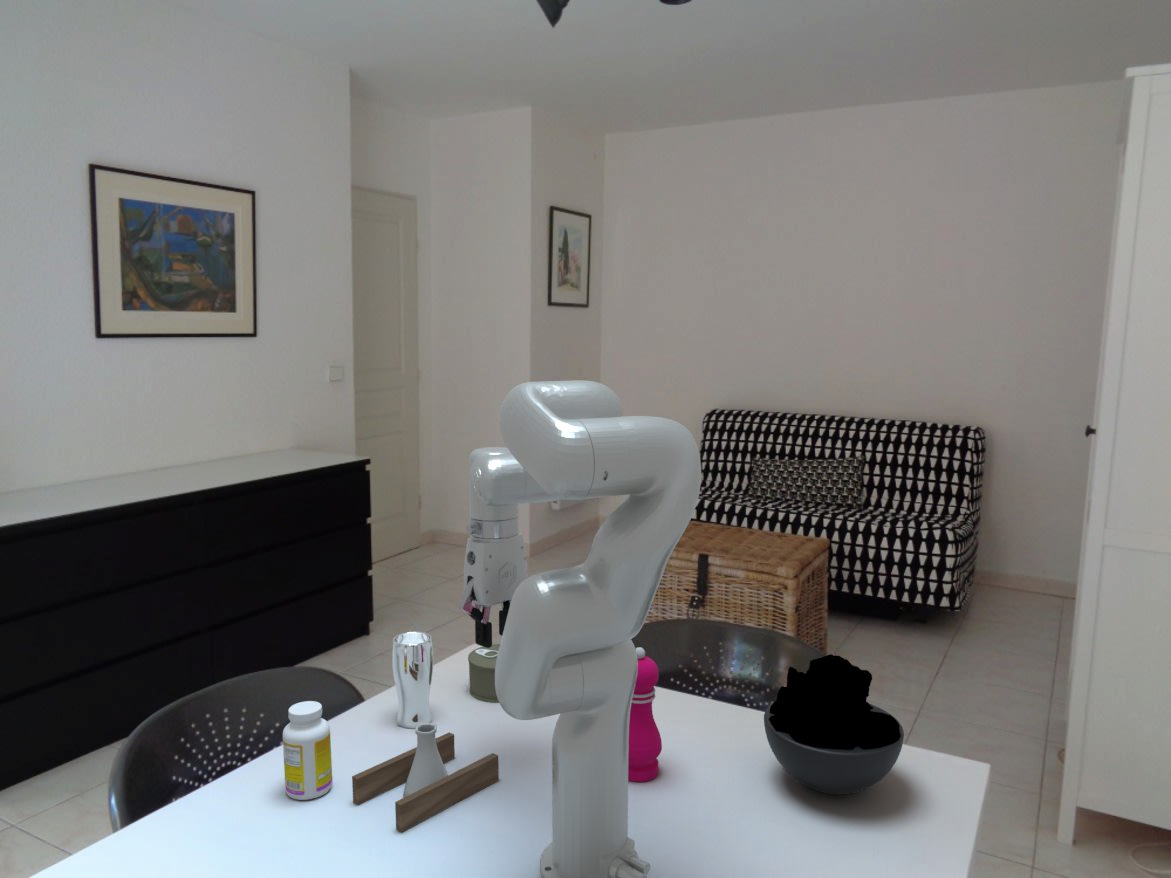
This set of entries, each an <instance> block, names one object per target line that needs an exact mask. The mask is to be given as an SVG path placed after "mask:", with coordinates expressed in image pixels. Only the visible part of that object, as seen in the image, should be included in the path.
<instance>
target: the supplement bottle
mask: <svg viewBox="0 0 1171 878" xmlns="http://www.w3.org/2000/svg"><path fill="white" fill-rule="evenodd" d="M322 715H323V706H322V704H321V703H320V702H318V701H316V700H314V701H313V700H306V701H300V702H297V703H294V704H292V705H291V706H290V707H289V708H288V717H287V718H288V719H289V721H290V722H289V723H288V724H287V725H286V726H285V727H284V728H283V730H282V747H283V749H282V751H283V767H284V768H283V769H284V785H285V787H284V788H285V791H286V795H287V796H288V797H290V798H291V799H293V800H299V801H306V800H312V799H317V798H319V797H322V796H323V795H326V793H328V792H329V791H330V790H331V788H332V786H333V767H332V745H331V744H332V743H331V742H332V741H331V727H330V724H329V722H328V721H327V720H326V719H325V718H322Z"/></svg>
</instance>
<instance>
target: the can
mask: <svg viewBox="0 0 1171 878" xmlns="http://www.w3.org/2000/svg"><path fill="white" fill-rule="evenodd" d="M499 647H500V643H495V644H492V646H491V647H490V648H486V647H483V646H480V647H477V648H475V649H473V650H471V652H469V654H468V656H467V660H468V671H469V672H468V673H469V677H468V678H469V694H470V696H472V698H474V699H476V700H477V701H481V702H483V703H484V702H485V703H493V704H500V703H499V701H498V698H497V694H496V689H495V666H496V660H497V655H498V651H499Z"/></svg>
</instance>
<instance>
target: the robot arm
mask: <svg viewBox="0 0 1171 878" xmlns="http://www.w3.org/2000/svg"><path fill="white" fill-rule="evenodd" d="M499 410H500V411H499V421H498V422H499V431H500V435H501V439H502V441H503V443H504V445H505V447H504V446H503V447H502V446H487V447H486V446H485V447H480V448H476V449H474V450H472V451H471V453H470V455H469V457H468V479H469V481H468V485H469V486H468V489H469V491H468V492H469V495H468V496H469V525H467V526H466V527H465V531H466V533H467V535H468V536H469V538H467V542H466V548H465V554H464V563H463V594H462V596H461V598H460V600H459V603H458V604H457V608H458V610H460V611H463V612H464V613H465V614H467V615H468V616H469V617H470V619H471V620H473V621H474V630H475V632H474V635H475V637H474V638H475V639H474V640H475V644H477V645H478V646H480V647H486V648H490V647H491V646H492V645H493V624H492V622H491V621H489V620H490V614H491V608H492V606H494V605H499V604H500V606H501V609H500V610H498V611H499V612H498V633H499V635H500V636H501V639H500V643H499V644H500V647H499V651H498V655H497V660H496V666H495V689H496V694H497V698H498V701H499V703H498V704H500V706H501V708H502V710H503V711H504V712H505V713H506V714H507V715H508V716H510V717H512V718H514V719H516V720H521V721H532V720H538V719H542V718H546V717H552V716H555V715H558V718H557V721H556V724H555V727H554V729H553V734H552V741H551V744H552V745H551V761H552V762H551V767H552V768H551V775H552V776H551V780H552V781H551V785H552V786H551V787H552V788H551V789H552V790H551V794H552V795H551V796H552V797H551V799H552V801H551V803H552V804H551V807H552V812H551V813H552V814H551V815H552V818H551V820H552V821H551V823H552V825H551V826H552V827H551V828H552V832H551V834H552V835H551V837H552V838H551V839H552V841H551V843H549V844H548V845H547V846H546V847H545V848H544V850H543V851H542V854H541V855H540V860H539V870H540V875H541V878H647V875H648V873H649V872H650V870H651V864H650V863H649V862H647V861H644V860H643V859H641V858H640V857H639V855H638V852H637V851H636V848H635V840H634V839H632V838H630V837H628V836H629V832H628V831H629V824H628V823H629V780H628V753H629V721H630V710H631V703H632V698H633V693H634V688H635V684H636V678H637V669H638V660H637V653H636V646H635V643H633V640H632V639H633V638H635V637H636V636H637V635H638V634H639V632H640V631H641V629H642V628H643V626H644V624H645V622H646V619H647V617H648V614H649V613H650V609H651V607H652V605H653V602H654V599H655V596H656V594H657V591H658V589H659V586H660V583H661V581H662V578H663V575H664V572H665V569H666V566H667V564H668V562H669V560H670V557H671V555H672V553H673V551H674V550H675V548H676V546H677V544H678V543H679V541H680V539H681V538H682V536H683V534H684V533H685V531H686V529H687V527H688V525H689V523H690V521H691V519H692V517H693V514H694V512H695V510H696V507H697V504H698V501H699V496H700V492H701V491H700V490H701V483H702V465H701V464H702V463H701V457H700V456H701V455H700V452H699V448H698V445H697V441H696V440H695V438H694V435H692V433H691V432H690V430H689V429H688V428H687V427H686V426H684V425H683V424H682V423H680V422H678V421H675V420H674V419H670V418H665V417H662V416H661V417H660V416H652V415H629V416H628V415H625V416H623V415H624V414H623V413H624V412H623V411H624V409H623V406H622V403H621V399H620V398H619V396H618V395H617V394H616V393H615V392H614V391H613V389H611V388H610V387H608V386H607V385H605V384H603V383H600V382H597V381H594V380H593V381H592V380H582V379H580V380H579V379H577V380H576V379H575V380H573V379H572V380H552V381H551V380H549V381H543V380H542V381H528V382H527V381H526V382H523V383H520V384H518V385H516V386H514V387H513V388H511V389H510V391H508V392H507V394H506V395H505V397H504V399H503V402H502V404H501V406H500V409H499ZM627 495H629V496H628V497H627V498H626V500H625V501H623V502H622V503H621V504H620V505H618V507H616V509H614V510H613V511H612V512H611V513H610V514H609V515H608V517H606V519H605V520H604V522H603V523H602V524H601V526H600V527H599V528H598V530H597V532H596V533H595V536H594V538H593V541H592V544H591V548H590V551H589V553H588V556H587V558H586V560H585V561H584V562H582V563H580V564H578V565H576V566H575V565H574V566H572V567H567V568H565V567H564V568H560V569H559V568H558V569H551V570H546V571H541V572H540V571H539V572H537V573H533V574H531V575H529V571H528V569H529V567H528V557H527V550H526V543H525V540H524V536H523V534H522V532H519V524H520V521H519V519H520V514H519V509H520V508H519V506H520V505H522V504H523V505H524V504H525V505H527V504H535V503H546V502H554V501H558V500H563V501H564V500H565V501H575V500H576V501H577V500H578V501H579V500H587V499H596V498H597V499H598V498H605V497H606V498H608V497H616V496H617V497H618V496H627ZM472 602H473V603H472ZM481 607H482V609H481Z"/></svg>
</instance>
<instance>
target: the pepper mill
mask: <svg viewBox="0 0 1171 878" xmlns="http://www.w3.org/2000/svg"><path fill="white" fill-rule="evenodd" d="M635 649H636V653H637V660H638V669H637V678H636V684H635V688H634V693H633V698H632V703H631V710H630V721H629V753H628V782H629V781H630V782H633V783H634V782H635V783H643V782H649V781H651V780H652V781H653V780H654V779H655V778H657V776H658V775H659V760H658V758H659V756H660V755H661V753H662V750H663V744H662V743H663V742H662V737H661V734H660V731H659V728H658V725H657V723H656V722H655V721H656V720H655V718H654V714H653V701H654V700H655V699H656V688H655V686H656V685H657V683H658V681H659V677H660V676H659V675H660V672H659V668H658V665H657V664H656V662H655V661H654V660H653V659H652V658H650V657H648V656H646V651H645V649H644V648H643V647H638V646H637V647H635Z"/></svg>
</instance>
